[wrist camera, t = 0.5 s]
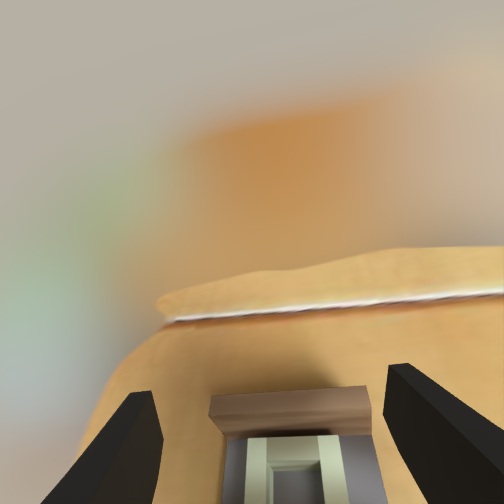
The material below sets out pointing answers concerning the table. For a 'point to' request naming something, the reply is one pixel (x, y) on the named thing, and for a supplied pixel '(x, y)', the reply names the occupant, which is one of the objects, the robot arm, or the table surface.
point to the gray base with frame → (299, 447)
